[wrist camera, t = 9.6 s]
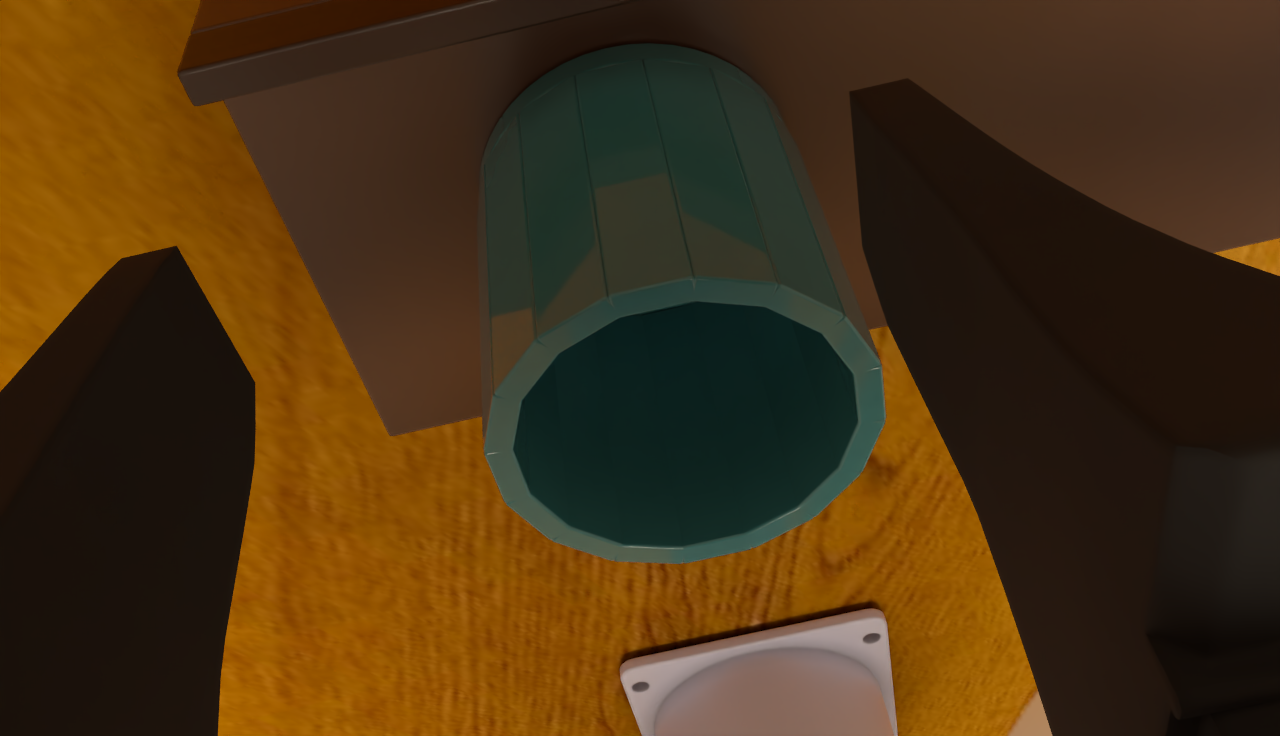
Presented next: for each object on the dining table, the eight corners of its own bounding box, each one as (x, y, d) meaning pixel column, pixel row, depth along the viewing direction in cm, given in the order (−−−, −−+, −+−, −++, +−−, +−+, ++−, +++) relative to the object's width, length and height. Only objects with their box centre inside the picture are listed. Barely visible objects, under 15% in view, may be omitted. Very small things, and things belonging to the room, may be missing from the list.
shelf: (1213, 137, 26) (1331, 274, 22) (394, 324, 27) (387, 483, 23) (1284, -327, 20) (1460, -236, 16) (220, -65, 21) (173, 73, 17)
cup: (808, 271, 23) (895, 519, 18) (524, 335, 23) (543, 595, 18) (774, 5, 19) (872, 236, 14) (436, 85, 19) (432, 335, 15)
